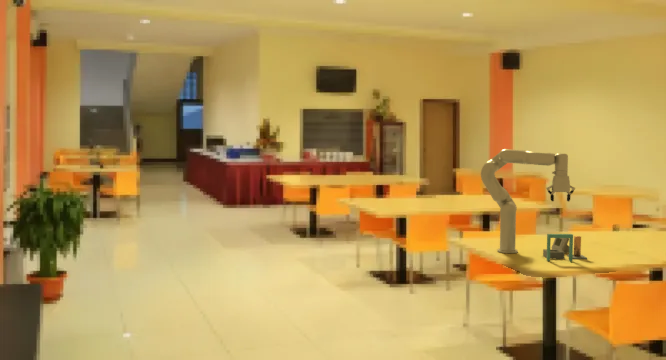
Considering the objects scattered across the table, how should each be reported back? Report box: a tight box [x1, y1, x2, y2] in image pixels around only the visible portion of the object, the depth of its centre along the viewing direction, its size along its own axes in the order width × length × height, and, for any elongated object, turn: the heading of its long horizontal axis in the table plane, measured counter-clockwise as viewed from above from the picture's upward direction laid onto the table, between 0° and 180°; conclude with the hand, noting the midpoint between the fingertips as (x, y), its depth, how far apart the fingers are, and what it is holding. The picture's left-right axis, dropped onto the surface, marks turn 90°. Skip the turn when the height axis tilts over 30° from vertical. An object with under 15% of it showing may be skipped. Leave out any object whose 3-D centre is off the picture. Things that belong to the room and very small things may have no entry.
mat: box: [566, 254, 588, 260], centre depth 419 cm, size 10×9×1 cm
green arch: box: [546, 233, 574, 262], centre depth 407 cm, size 3×14×16 cm, turn 88°
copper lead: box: [573, 235, 582, 257], centre depth 419 cm, size 4×4×12 cm
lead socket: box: [542, 248, 566, 260], centre depth 420 cm, size 10×10×4 cm
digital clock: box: [551, 238, 569, 254], centre depth 438 cm, size 16×9×11 cm, turn 172°
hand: (560, 201), depth 427 cm, fingers open, 9 cm apart
